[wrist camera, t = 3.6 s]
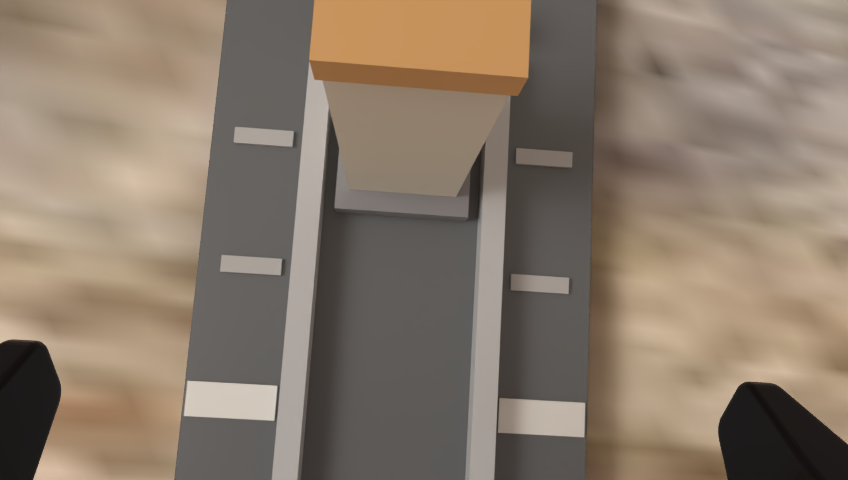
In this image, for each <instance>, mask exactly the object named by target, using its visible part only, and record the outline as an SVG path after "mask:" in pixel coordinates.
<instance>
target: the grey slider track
mask: <svg viewBox="0 0 848 480" xmlns="http://www.w3.org/2000/svg"><path fill="white" fill-rule="evenodd" d="M313 11H314V0H227V6H226V15H225V24H224V33H223V42H222V51H221V60H220V69H219V78H218V87H217V97H216V106H215V115H214V124H213V133H212V142H211V151H210V160H209V169H208V178H207V188H206V197H205V206H204V215H203V224H202V233H201V242H200V251H199V260H198V269H197V278H196V288H195V297H194V306H193V315H192V324H191V333H190V342H189V351H188V360H187V369H186V379H185V388H184V397H183V406H182V415H181V424H180V433H179V442H178V451H177V460H176V469H175V479H174V480H585V477H586V434H587V392H588V350H589V307H590V265H591V223H592V180H593V138H594V96H595V53H596V11H597V0H531V19H530V45H529V70H528V79H527V81H526V83H525V84H524V86H523V88H522V90H521V91H520V93H519V95H518V96H511V95H509V97H508V99H507V101H506V103H505V105H504V106H503V108H502V110H501V112H500V114H499V116H498V118H497V120H496V122H495V124H494V125H493V127H492V129H491V131H490V133H489V135H488V137H487V139H486V141H485V143H484V144H483V146H482V148H481V150H480V152H479V154H478V156H477V158H476V160H475V162H474V163H473V165H472V167H471V170H470V189H469V209H468V218H467V220H466V221H453V220H439V219H425V218H410V217H396V216H381V215H367V214H353V213H338V212H336V211H335V208H334V206H335V194H336V181H337V169H338V157H339V145H338V141H337V137H336V133H335V129H334V125H333V121H332V117H331V113H330V109H329V104H328V100H327V96H326V92H325V88H324V84H323V81H322V80H314V76H313V72H312V69H311V65H310V62H309V55H310V44H311V33H312V22H313Z"/></svg>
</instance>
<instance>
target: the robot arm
mask: <svg viewBox="0 0 848 480" xmlns="http://www.w3.org/2000/svg"><path fill="white" fill-rule="evenodd" d="M60 397H61V384H60V381H59V378H58V375H57V373H56V370H55V367H54V365H53V362H52V360H51V357H50V354H49V352H48V349H47V347H46V346H45V345H44V344H43V343H42V342H40V341H32V340H7V341H5V342H2V343H1V344H0V480H33V478H34V475H35V472H36V470H37V467H38V464H39V461H40V458H41V455H42V452H43V449H44V446H45V443H46V440H47V437H48V434H49V431H50V429H51V426H52V423H53V420H54V417H55V414H56V411H57V408H58V405H59V402H60ZM718 435H719V441H720V446H721V450H722V455H723V459H724V464H725V469H726V473H727V478H728V480H848V444H847V443H845V442H844V441H843V440H842V439H841V438H840V437H838V436H837V435H836V434H835V433H834V432H832V431H831V430H830V429H829V428H828V427H827V426H825V425H824V424H823V423H822V422H821V421H820V420H818V419H817V418H816V417H815V416H814V415H812V414H811V413H810V412H809V411H808V410H807V409H805V408H804V407H803V406H802V405H801V404H800V403H798V402H797V401H796V400H795V399H794V398H792V397H791V396H790V395H789V394H788V393H787V392H785V391H784V390H783V389H782V388H780V387H779V386H777V385H775V384H772V383H762V382H744V383H743V384H741V385H740V386H739V387H738V388H737V390H736V392H735V394H734V395H733V397H732V399H731V401H730V403H729V404H728V406H727V408H726V410H725V411H724V413H723V415H722V417H721V419H720V422H719V427H718Z"/></svg>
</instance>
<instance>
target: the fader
mask: <svg viewBox="0 0 848 480" xmlns="http://www.w3.org/2000/svg"><path fill="white" fill-rule="evenodd" d="M530 19H531V0H314V11H313V22H312V33H311V44H310V55H309V62H310V65H311V69H312V72H313V76H314V80H322V81H323V84H324V88H325V92H326V96H327V100H328V104H329V109H330V113H331V117H332V121H333V125H334V129H335V133H336V137H337V141H338V145H339V157H338V169H337V181H336V194H335V206H334V208H335V211H336V212H338V213H353V214H367V215H381V216H396V217H410V218H425V219H439V220H453V221H466V220H467V218H468V209H469V189H470V170H471V167H472V165H473V163H474V162H475V160H476V158H477V156H478V154H479V152H480V150H481V148H482V146H483V144H484V143H485V141H486V139H487V137H488V135H489V133H490V131H491V129H492V127H493V125H494V124H495V122H496V120H497V118H498V116H499V114H500V112H501V110H502V108H503V106H504V105H505V103H506V101H507V99H508V97H509V95H511V96H518V95H519V93H520V91H521V90H522V88H523V86H524V84H525V83H526V81H527V79H528V70H529V45H530Z"/></svg>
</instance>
